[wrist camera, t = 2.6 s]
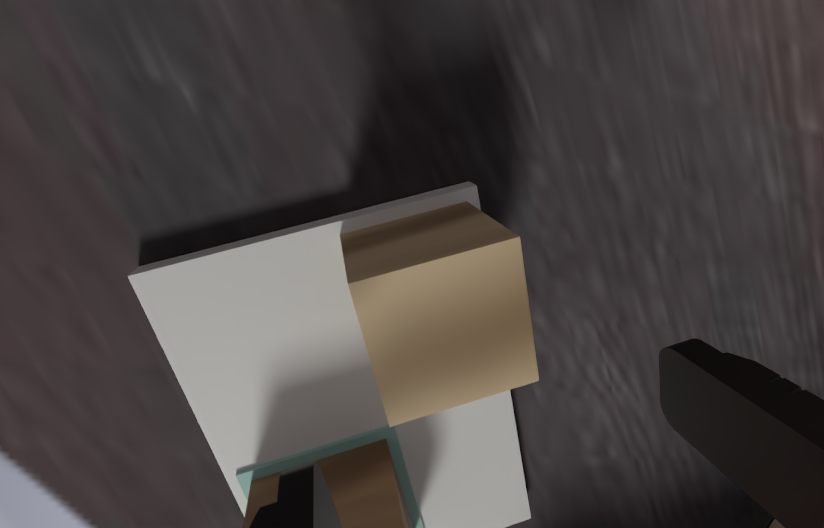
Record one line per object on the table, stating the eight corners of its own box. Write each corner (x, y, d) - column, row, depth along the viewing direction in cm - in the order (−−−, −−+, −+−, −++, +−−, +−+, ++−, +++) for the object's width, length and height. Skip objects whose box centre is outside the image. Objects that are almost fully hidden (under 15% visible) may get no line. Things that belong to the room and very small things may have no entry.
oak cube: (339, 234, 17) (347, 283, 12) (466, 201, 18) (520, 236, 13) (371, 347, 19) (389, 427, 14) (486, 314, 19) (538, 380, 15)
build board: (138, 266, 17) (125, 278, 16) (468, 181, 18) (478, 186, 17) (287, 583, 24) (285, 607, 22) (523, 502, 25) (532, 521, 24)
